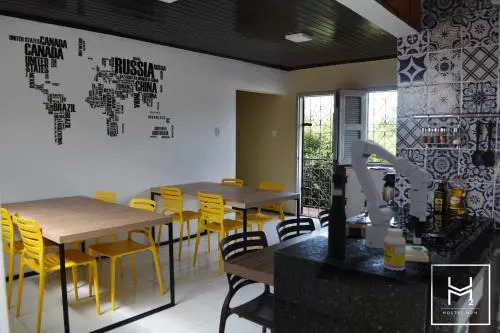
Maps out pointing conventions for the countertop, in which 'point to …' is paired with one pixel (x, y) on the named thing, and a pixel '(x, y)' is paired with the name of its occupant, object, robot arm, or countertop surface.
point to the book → (356, 228)
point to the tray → (416, 256)
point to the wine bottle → (337, 221)
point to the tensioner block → (417, 248)
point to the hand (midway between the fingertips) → (417, 236)
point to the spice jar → (417, 240)
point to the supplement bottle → (394, 250)
